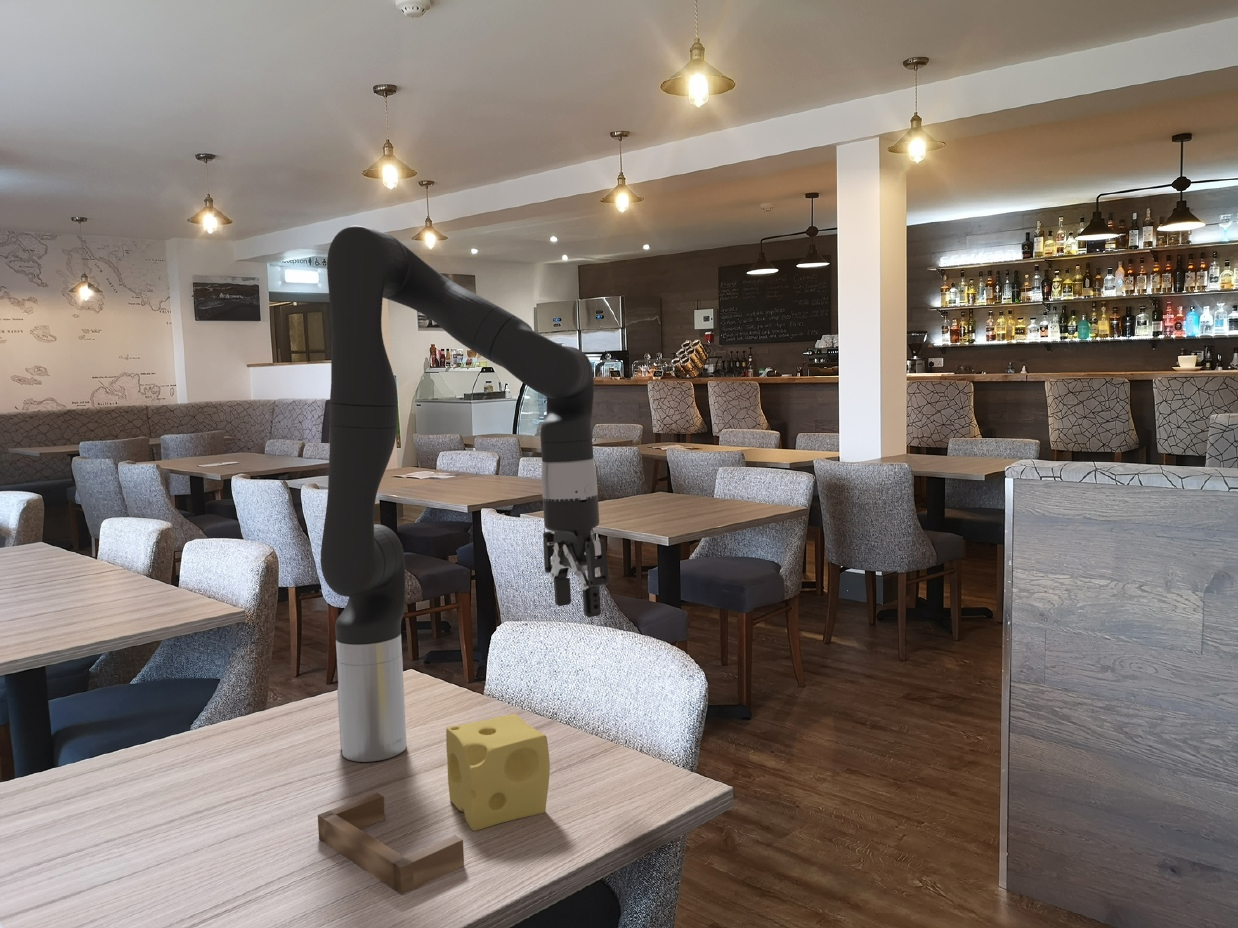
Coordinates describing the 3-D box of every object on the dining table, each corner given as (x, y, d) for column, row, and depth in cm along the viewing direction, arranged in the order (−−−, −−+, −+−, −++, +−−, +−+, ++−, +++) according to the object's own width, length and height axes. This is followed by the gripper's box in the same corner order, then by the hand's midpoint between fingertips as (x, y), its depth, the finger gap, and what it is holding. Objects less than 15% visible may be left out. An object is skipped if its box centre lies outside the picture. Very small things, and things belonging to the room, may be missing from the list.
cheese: (472, 833, 111) (468, 752, 110) (445, 798, 120) (442, 724, 120) (552, 812, 116) (549, 735, 115) (520, 781, 125) (517, 709, 124)
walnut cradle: (319, 838, 110) (317, 814, 110) (378, 815, 116) (377, 792, 116) (401, 894, 98) (400, 867, 97) (464, 865, 103) (462, 839, 103)
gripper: (522, 493, 130) (530, 606, 132) (569, 500, 118) (578, 625, 120) (570, 487, 134) (577, 597, 136) (620, 493, 122) (627, 614, 123)
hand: (577, 610), depth 128 cm, fingers open, 8 cm apart
